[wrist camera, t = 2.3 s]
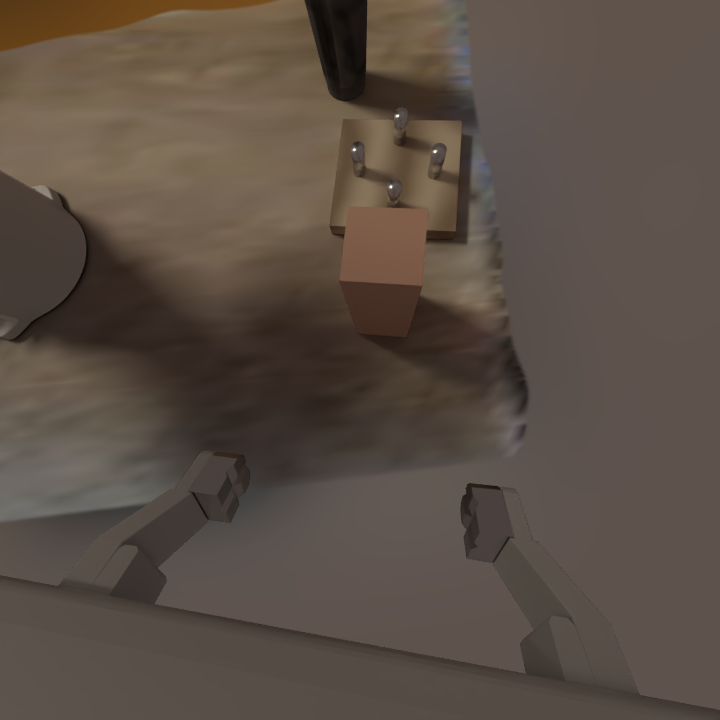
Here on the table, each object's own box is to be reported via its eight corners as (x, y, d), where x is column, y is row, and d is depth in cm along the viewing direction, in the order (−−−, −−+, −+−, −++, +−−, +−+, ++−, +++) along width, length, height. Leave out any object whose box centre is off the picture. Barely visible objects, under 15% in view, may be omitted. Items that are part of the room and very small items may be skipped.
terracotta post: (357, 333, 31) (339, 280, 18) (362, 287, 32) (347, 206, 19) (406, 337, 31) (422, 285, 18) (410, 291, 31) (428, 209, 19)
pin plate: (332, 233, 33) (323, 206, 29) (344, 131, 35) (339, 91, 31) (452, 239, 32) (463, 212, 27) (458, 133, 34) (469, 91, 29)
